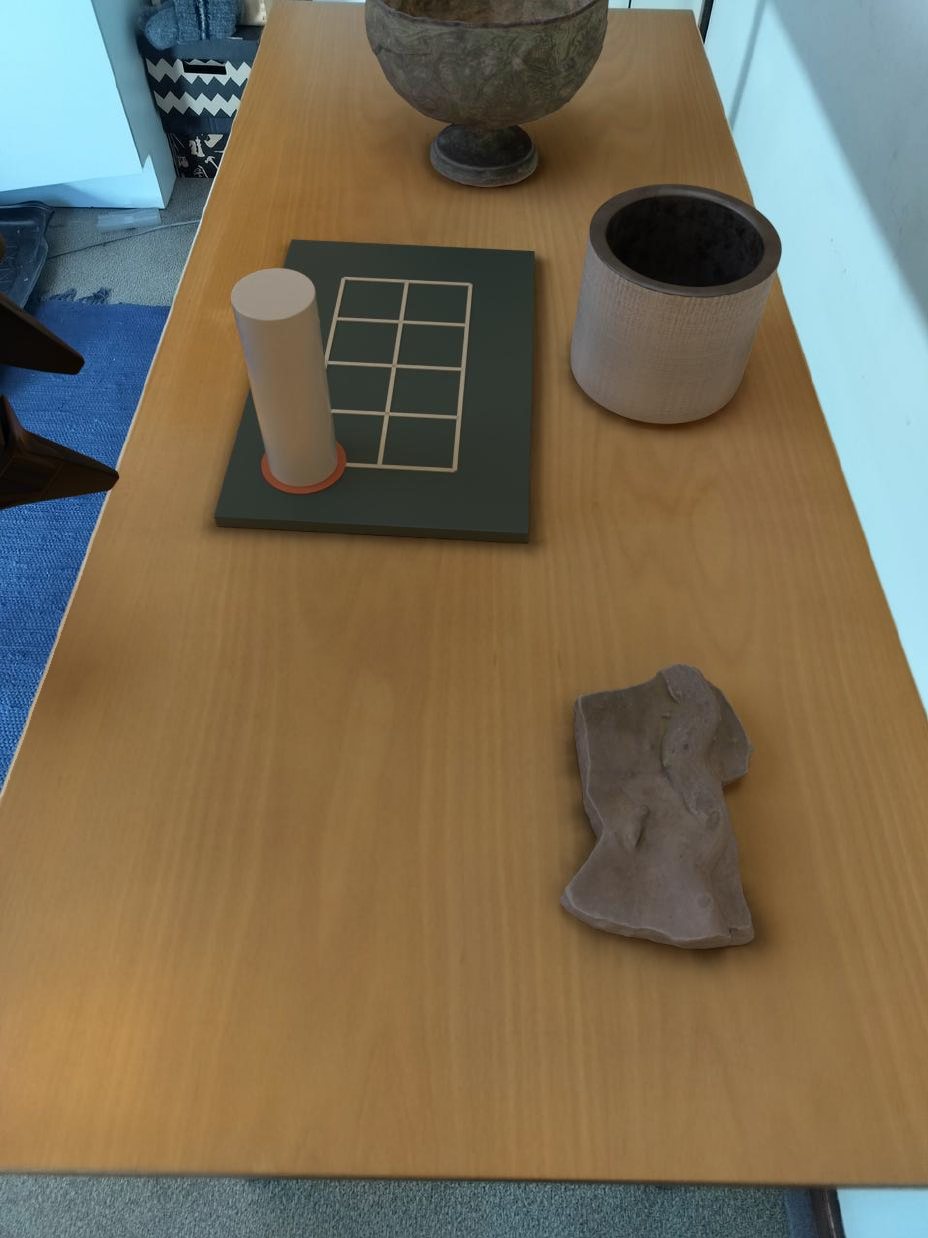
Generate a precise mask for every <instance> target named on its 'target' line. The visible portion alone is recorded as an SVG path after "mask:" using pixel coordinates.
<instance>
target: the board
mask: <svg viewBox="0 0 928 1238" xmlns="http://www.w3.org/2000/svg"><path fill="white" fill-rule="evenodd" d="M535 263H536V251H535V250H525V249H524V250H523V249H521V250H520V249H505V248H504V249H502V248H483V247H482V248H481V247H480V248H479V247H460V246H459V247H458V246H440V245H422V244H421V245H418V244H401V243H400V244H399V243H398V244H397V243H377V242H356V241H355V242H354V241H335V240H317V239H296V238H292V239H291V240H290V242H289V246H288V250H287V253H286V256H285V260H284V264H283V267H282V268H284V269H290V270H294V271H297V272H299V273H302V274H303V275H305V276H306V277H308V278H309V279H310V280H311V282H312V283H313V285H314V287H315V291H316V298H317V305H318V313H319V320H320V327H321V335H322V342H323V349H324V357H325V364H326V371H327V379H328V386H329V393H330V401H331V408H332V415H333V423H334V430H335V437H336V445H337V452H338V465H337V467H336V469H335V471H334V472H333V474H332V475H331V476H330V477H329V478H327V479H326V480H324V481H323V482H321V483H319V484H316V485H312V486H307V487H294V486H289V485H286V484H283V483H281V482H280V481H278V480H277V479H276V478H275V477H274V476H273V475H272V474H271V472H270V470H269V466H268V462H267V457H266V453H265V449H264V444H263V440H262V435H261V431H260V427H259V422H258V418H257V413H256V409H255V405H254V400H253V396H252V391H251V387H250V386H249V389H248V394H247V397H246V400H245V404H244V407H243V410H242V415H241V417H240V421H239V425H238V428H237V432H236V436H235V439H234V442H233V446H232V450H231V453H230V457H229V461H228V465H227V467H226V471H225V475H224V479H223V483H222V486H221V489H220V493H219V497H218V500H217V504H216V508H215V510H214V514H213V517H214V521H215V524H216V527H228V528H229V527H230V528H247V529H263V530H264V529H265V530H266V529H267V530H280V531H281V530H285V531H299V532H300V531H302V532H303V531H304V532H317V533H319V532H320V533H321V532H322V533H336V534H356V535H357V534H358V535H374V536H375V535H376V536H395V537H410V538H411V537H412V538H413V537H415V538H431V539H447V540H450V539H451V540H467V541H484V542H485V541H487V542H504V543H522V544H523V543H524V544H527V543H528V542H529V537H530V536H529V535H530V500H531V499H530V497H531V496H530V493H531V492H530V491H531V451H532V442H531V441H532V409H533V407H532V406H533V405H532V404H533V403H532V402H533V361H534V355H533V354H534V317H535V315H534V310H535V271H536V270H535V269H536V267H535V266H536V265H535Z"/></svg>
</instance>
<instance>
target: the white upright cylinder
mask: <svg viewBox="0 0 928 1238" xmlns="http://www.w3.org/2000/svg"><path fill="white" fill-rule="evenodd" d="M230 303H231V307H232V312H233V316H234V320H235V325H236V329H237V332H238V333H237V334H238V338H239V343H240V346H241V351H242V356H243V360H244V365H245V369H246V373H247V377H248V382H249V388H250V387H251V391H252V396H253V400H254V405H255V409H256V413H257V418H258V422H259V427H260V431H261V435H262V440H263V444H264V449H265V453H266V457H267V462H268V466H269V470H270V472H271V474H272V475H273V476H274V477H275V478H276V479H277V480H278V481H280V482H281V483H283V484H286V485H289V486H294V487H307V486H312V485H316V484H319V483H321V482H323V481H324V480H326V479H327V478H329V477H330V476H331V475H332V474H333V472H334V471H335V469H336V467H337V465H338V452H337V445H336V437H335V430H334V423H333V415H332V408H331V401H330V393H329V386H328V379H327V371H326V364H325V357H324V349H323V342H322V335H321V327H320V320H319V313H318V305H317V298H316V291H315V287H314V285H313V283H312V282H311V280H310V279H309V278H308V277H306V276H305V275H303V274H302V273H299V272H297V271H294V270H290V269H284V268H283V267H282V268H281V267H271V268H265V269H260V270H256V271H253V272H251V273H249V274H247V275H245V276H243V277H241V279H239V280H238V281H237V282H236V283H235V284H234V285H233V288H232V290H231V293H230Z"/></svg>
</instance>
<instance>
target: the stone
mask: <svg viewBox="0 0 928 1238" xmlns="http://www.w3.org/2000/svg"><path fill="white" fill-rule="evenodd" d="M573 722H574V723H573V731H574V732H573V735H574V741H575V745H576V746H575V747H576V749H575V751H576V757H577V762H578V768H579V775H580V784H581V785H580V786H581V792H582V797H583V803H582V804H583V809H584V813H585V815H587V817H588V819H589V823H590V826H591V828H592V831H593V833H594V835H595V837H596V841H595V845H594V847H593V850H592V851H591V853H590V855H589V857H588V858H587V860H586V861H585V862H584V864H582V866H581V867H580V868H579V870H578V871H577V873H576V874H575V875H574V876H573V877H572V878H571V880H570V881H569V882H568V883H567V885H565V887H564V890H563V892H562V894H561V896H560V898H559V901H560V903H561V905H562V907H563V908H564V910H565V911H567V913H570V914H571V915H573V916H574V917H576V918H577V919H578V920H580V921H581V922H583V923H585V924H586V925H588V926H590V927H591V928H593V929H595V930H596V929H597V930H601V931H603V932H606V933H610V934H614V935H615V934H616V935H620V936H621V935H622V936H624V937H627V938H638V939H648V940H650V941H652V942H655V943H658V944H664V945H671V946H675V947H678V948H681V949H711V948H713V949H714V948H723V947H728V946H743V945H746V944H749V943H750V942H751V941H753V939H754V938H755V929H754V926H753V922H752V915H751V912H750V909H749V906H748V904H747V901H746V898H745V895H744V891H743V886H742V882H741V881H742V880H741V874H740V868H739V866H738V862H739V857H740V855H739V846H738V842H737V838H736V836H735V833H734V830H733V826H732V821H731V813H730V809H729V805H728V802H727V800H726V798H725V796H724V790H723V789H724V788H725V787H726V786H728V785H730V784H732V783H735V782H736V781H738V780H740V779H743V778H745V777H746V776H747V775H748V773H749V772H750V770H749V761H751V760H752V758H753V755H754V753H755V745H754V744H753V742H752V740H751V738H750V737H749V735H748V733H747V731H746V729H745V727H744V725H743V723H742V721H741V720H740V718H739V716H738V714H737V712H736V711H735V709H734V707H733V706H732V704H731V703H730V701H729V700H728V698H727V696H726V695H725V693H724V691H723V690H722V689H721V688H720V687H718V686H716V685H715V684H713V682H711V681H710V680H708V679H706V677H705V676H704V674H703V672H701V670H700V669H698V668H697V667H695V666H692V665H689V664H687V663H677V664H676V663H675V664H674V663H673V664H671V665H669V666H666V667H664V668H661V669H659V670H658V671H657V672H656V673H655V675H654V676H653V677H652V678H649V679H647V680H646V681H644V682H641V683H638V684H635V685H631V686H628V687H623V688H615V689H610V690H609V689H606V690H600V691H595V692H590V693H587V694H580V695H578V696H577V698H576V699H575V701H574V704H573Z"/></svg>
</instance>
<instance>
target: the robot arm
mask: <svg viewBox="0 0 928 1238" xmlns="http://www.w3.org/2000/svg"><path fill="white" fill-rule="evenodd" d="M6 251H7V243H6V240H5V237H4V236H3V235H2V233H1V232H0V263H1V262H2V261H3V260H4V258H5V255H6ZM85 364H86V361H85V358H84V356H83V355H82V354H81V353H79V352H78V351H77V350H76V349H75V348H73V347H72V346H70V345H69V344H68V343H67V342H66V341H64V339H61V338H60V337H59V336H58V335H57V334H55V333H54V332H53V331H52V330H51V329H49V328H48V327H46V326H45V325H44V324H43V323H41V322H40V321H39V320H37V319H36V318H35V317H34V316H32V315H31V314H30V313H28V312H27V311H26V310H25V309H23V308H22V307H21V306H20V305H19V304H17V303H16V302H15V301H13V300H12V299H11V298H10V297H9V296H8V295H7V294H5V293H4V292H3V291H2V290H1V289H0V366H6V367H12V368H17V369H22V370H23V369H24V370H29V371H35V372H42V373H47V374H58V375H68V376H77V375H79V373H81V370H82V369H83V368H84V366H85ZM119 480H120V474H119V471H118V470H116V469H115V468H113V467H111V466H109V465H107V464H105V463H104V462H101V461H99V460H98V459H96V458H94V457H91V456H88V455H86V454H84V453H81V452H79V451H77V450H75V449H73V448H70V447H67V446H65V445H63V444H60V443H58V442H55V441H54V440H51V439H49V438H46V437H44V436H42V435H39V434H36V433H35V432H32V431H29V430H28V429H26V428H25V427H24V426H23V425H22V423H21V421H20V419H19V417H18V416H17V414H16V412H15V410H14V408H13V406H12V404H11V402H10V401H9V399H8V397H7V396H6V395H5V394H4V393H1V395H0V511H4V510H7V509H12V508H15V507H21V506H25V505H30V504H31V505H32V504H37V503H43V502H49V501H55V500H60V499H61V500H62V499H67V498H73V497H80V496H86V495H92V494H100V493H105V492H109V491H111V490H113V488H114V487H115V486H116V485H117V483H118V481H119Z"/></svg>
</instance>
